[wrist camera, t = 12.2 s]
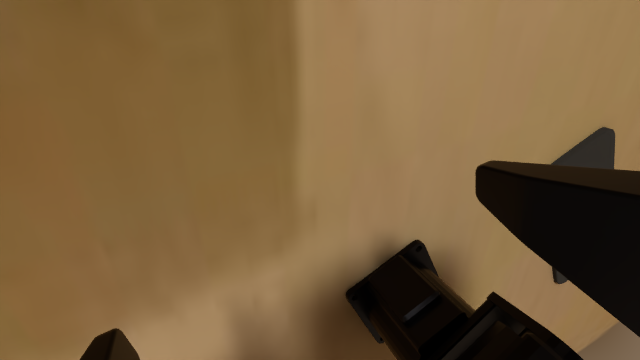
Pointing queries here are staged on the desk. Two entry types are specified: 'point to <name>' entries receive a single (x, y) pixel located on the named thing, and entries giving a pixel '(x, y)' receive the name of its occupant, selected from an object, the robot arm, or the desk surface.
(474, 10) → the desk surface
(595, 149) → the phone
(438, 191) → the desk surface
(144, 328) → the desk surface
